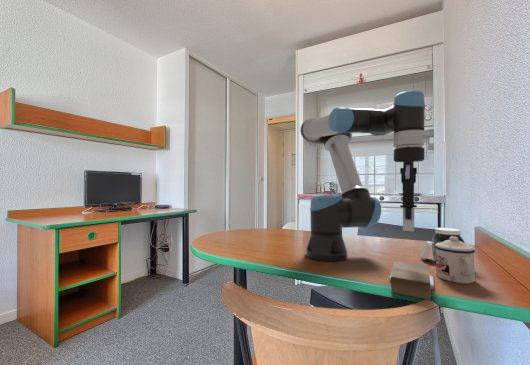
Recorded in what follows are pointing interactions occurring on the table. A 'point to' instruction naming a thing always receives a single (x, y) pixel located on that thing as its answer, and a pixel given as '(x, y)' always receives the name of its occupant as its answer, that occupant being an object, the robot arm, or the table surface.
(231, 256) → the table surface
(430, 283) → the grey board
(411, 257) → the table surface
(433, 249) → the spread jar
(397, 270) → the walnut slab
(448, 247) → the teacup with lid
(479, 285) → the table surface
